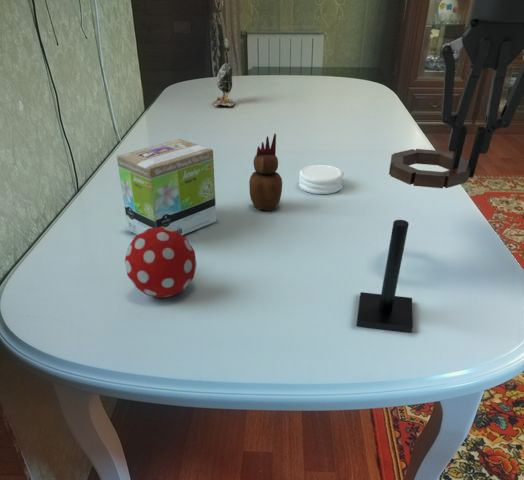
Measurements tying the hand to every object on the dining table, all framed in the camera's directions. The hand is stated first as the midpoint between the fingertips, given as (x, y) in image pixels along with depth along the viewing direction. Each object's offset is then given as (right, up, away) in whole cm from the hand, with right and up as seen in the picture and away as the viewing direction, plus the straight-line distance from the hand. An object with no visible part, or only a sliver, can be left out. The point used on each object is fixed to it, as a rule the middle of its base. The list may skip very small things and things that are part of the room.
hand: (461, 173), depth 77 cm
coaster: (-17, +11, +40) cm, 45 cm away
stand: (-12, -21, 0) cm, 24 cm away
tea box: (-48, -3, +24) cm, 54 cm away
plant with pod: (-43, +58, +99) cm, 123 cm away
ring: (-5, 0, +1) cm, 5 cm away
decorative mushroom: (-46, -16, +8) cm, 50 cm away
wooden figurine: (-30, +3, +31) cm, 43 cm away
